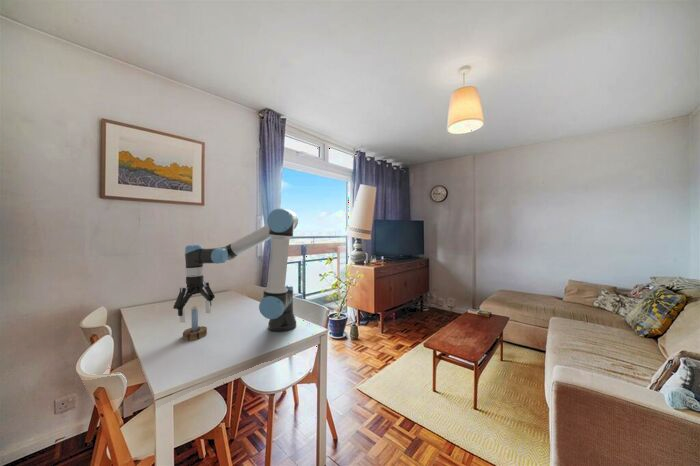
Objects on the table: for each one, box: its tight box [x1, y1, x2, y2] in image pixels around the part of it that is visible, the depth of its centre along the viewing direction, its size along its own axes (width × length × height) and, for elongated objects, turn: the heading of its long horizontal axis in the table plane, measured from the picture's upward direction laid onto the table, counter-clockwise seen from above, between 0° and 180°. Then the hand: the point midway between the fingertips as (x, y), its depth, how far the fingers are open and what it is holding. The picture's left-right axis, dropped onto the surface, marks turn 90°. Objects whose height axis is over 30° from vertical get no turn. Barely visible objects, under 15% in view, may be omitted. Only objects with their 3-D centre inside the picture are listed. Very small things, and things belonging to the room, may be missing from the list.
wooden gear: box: [182, 325, 208, 341], centre depth 125 cm, size 10×10×3 cm
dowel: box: [190, 305, 199, 332], centre depth 125 cm, size 3×3×15 cm
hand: (195, 317), depth 125 cm, fingers open, 13 cm apart
